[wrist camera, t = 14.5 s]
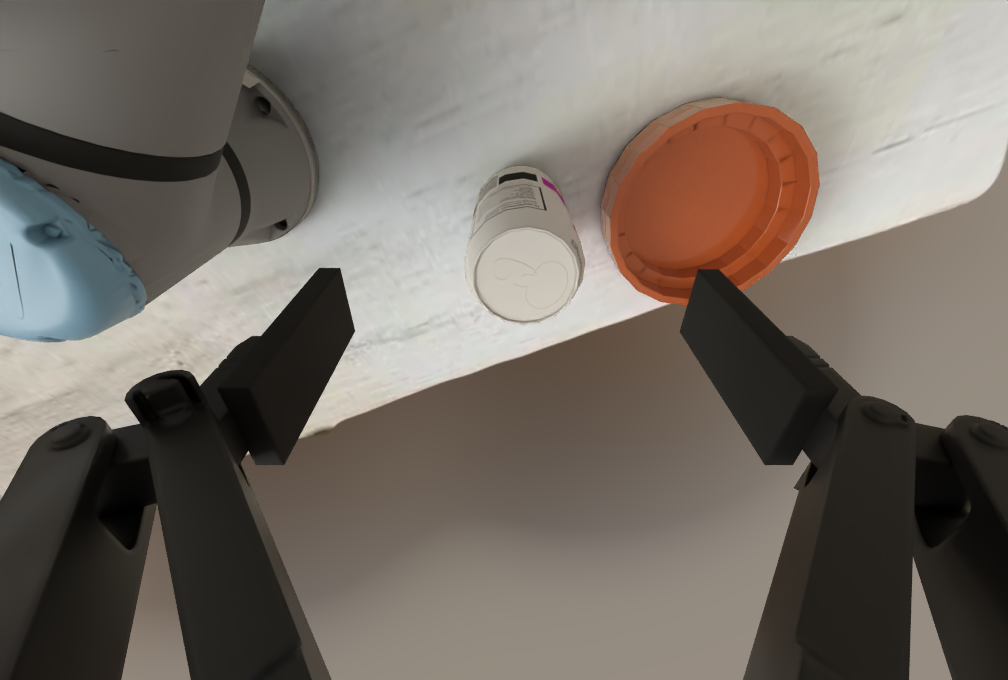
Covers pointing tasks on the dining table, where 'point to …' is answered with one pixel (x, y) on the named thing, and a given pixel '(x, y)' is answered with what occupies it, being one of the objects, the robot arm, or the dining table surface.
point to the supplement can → (523, 248)
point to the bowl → (709, 196)
